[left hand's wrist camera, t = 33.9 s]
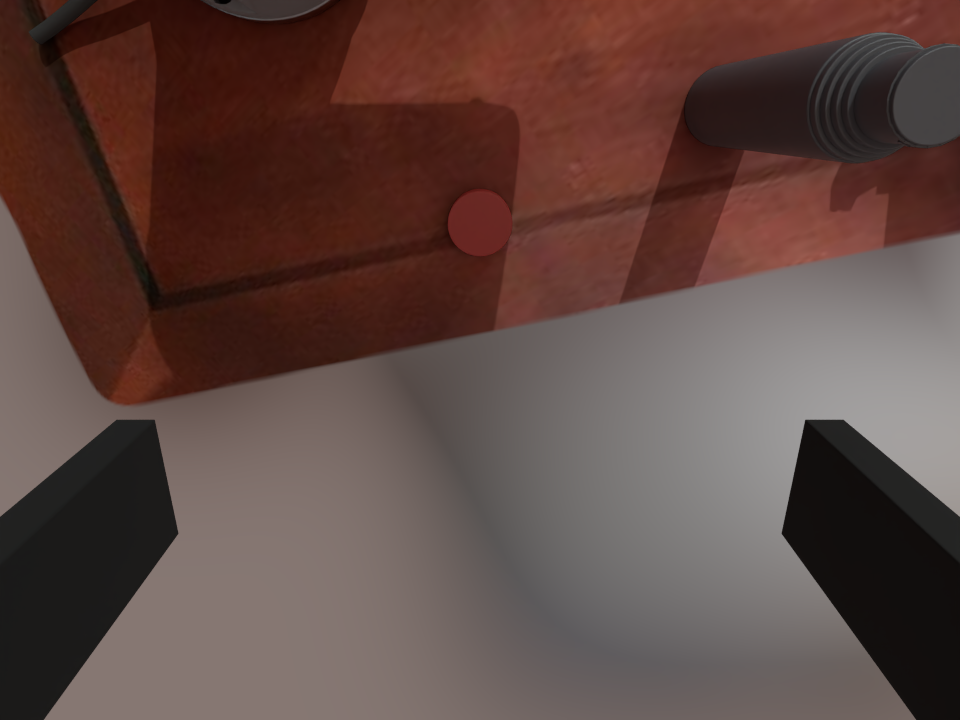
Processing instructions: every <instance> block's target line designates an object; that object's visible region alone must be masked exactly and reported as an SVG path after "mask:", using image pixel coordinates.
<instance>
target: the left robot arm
mask: <svg viewBox="0 0 960 720" xmlns="http://www.w3.org/2000/svg"><path fill="white" fill-rule="evenodd" d="M96 1H97V0H69V1H68V2H66V3H65V4H64V5H63V6H62V7H61V8H59V9H58V10H57V11H56V12H55V13H53V14H52V15H51V16H50V17H48V18H47V19H46V20H45V21H43V22H42V23H40V24H39V25H38V26H36V27H35V28H33V29H32V30H30V31H29V33H30V35H31V37H32V38H33V39H34V40H35V41H36V42H37V43H39V44H41V45H42V44H43V43H45V42H46V41H48V40H49V39H50V38H52V37H53V36H55V35H56V34H57V33H59V32H60V31H61V30H63V29H64V28H65V27H66V26H68V25H69V24H70V23H71V22H73V21H74V20H75V19H76V18H77V17H79V16H80V15H81V14H82V13H83V12H84V11H86V10H87V9H88V8H89V7H90V6H91V5H92V4H94V3H95V2H96ZM201 1H203V2H205V3H207V4H208V5H210V6H212V7H214V8H216V9H219V10H221V11H223V12H225V13H228V14H230V15H233V16H235V17H238V18H241V19H244V20H248V21H253V22H258V23H266V24H284V23H292V22H297V21H301V20H305V19H307V18H310V17H313V16H315V15H317V14H320V13H322V12H324V11H325V10H327V9H328V8H330V7H332V6H333V5H334V4H336V3H337V2H338V1H340V0H201ZM177 535H178V530H177V525H176V520H175V515H174V510H173V506H172V501H171V496H170V491H169V486H168V482H167V477H166V472H165V467H164V463H163V458H162V453H161V448H160V443H159V438H158V434H157V429H156V424H155V420H116V421H115V422H113V423H112V424H111V425H110V426H109V427H108V428H106V429H105V430H104V431H103V432H102V433H100V434H99V435H98V436H97V437H95V438H94V439H93V440H92V441H91V442H89V443H88V444H87V445H86V446H85V447H83V448H82V449H81V450H80V451H79V452H78V453H76V454H75V455H74V456H73V457H71V458H70V459H69V460H68V461H67V462H66V463H64V464H63V465H62V466H61V467H60V468H58V469H57V470H56V471H55V472H53V473H52V474H51V475H50V476H49V477H48V478H46V479H45V480H44V481H43V482H41V483H40V484H39V485H38V486H37V487H36V488H34V489H33V490H32V491H31V492H30V493H28V494H27V495H26V496H25V497H24V498H22V499H21V500H20V501H19V502H18V503H16V504H15V505H14V506H13V507H12V508H10V509H9V510H8V511H7V512H6V513H4V514H3V515H2V516H1V517H0V720H44V719H45V717H46V716H47V714H48V713H49V712H50V710H51V709H52V707H53V706H54V705H55V703H56V702H57V701H58V699H59V698H60V696H61V695H62V694H63V692H64V691H65V690H66V688H67V687H68V685H69V684H70V683H71V681H72V680H73V679H74V677H75V676H76V674H77V673H78V672H79V670H80V669H81V667H82V666H83V665H84V663H85V662H86V661H87V659H88V658H89V656H90V655H91V654H92V652H93V651H94V649H95V648H96V647H97V645H98V644H99V643H100V641H101V640H102V638H103V637H104V636H105V634H106V633H107V632H108V630H109V629H110V627H111V626H112V625H113V623H114V622H115V620H116V619H117V618H118V616H119V615H120V614H121V612H122V611H123V609H124V608H125V607H126V605H127V604H128V603H129V601H130V600H131V598H132V597H133V596H134V594H135V593H136V591H137V590H138V589H139V587H140V586H141V585H142V583H143V582H144V580H145V579H146V578H147V576H148V575H149V574H150V572H151V571H152V569H153V568H154V567H155V565H156V564H157V562H158V561H159V560H160V558H161V557H162V555H163V554H164V553H165V551H166V550H167V549H168V547H169V546H170V544H171V543H172V542H173V540H174V539H175V538H176V536H177ZM782 535H783V536H784V538H785V539H786V540H787V542H788V543H789V544H790V546H791V547H792V549H793V550H794V551H795V553H796V554H797V556H798V557H799V558H800V560H801V561H802V562H803V564H804V565H805V567H806V568H807V569H808V571H809V572H810V574H811V575H812V576H813V578H814V579H815V580H816V582H817V583H818V585H819V586H820V587H821V589H822V590H823V591H824V593H825V594H826V596H827V597H828V598H829V600H830V601H831V603H832V604H833V605H834V607H835V608H836V609H837V611H838V612H839V614H840V615H841V616H842V618H843V619H844V620H845V622H846V623H847V625H848V626H849V627H850V629H851V630H852V631H853V633H854V634H855V636H856V637H857V638H858V640H859V641H860V643H861V644H862V645H863V647H864V648H865V650H866V651H867V652H868V654H869V655H870V656H871V658H872V659H873V661H874V662H875V663H876V665H877V666H878V667H879V669H880V670H881V672H882V673H883V674H884V676H885V677H886V679H887V680H888V681H889V683H890V684H891V685H892V687H893V688H894V690H895V691H896V692H897V694H898V695H899V696H900V698H901V699H902V701H903V702H904V703H905V705H906V706H907V708H908V709H909V710H910V712H911V713H912V714H913V716H914V717H915V719H916V720H960V517H959V516H958V515H957V514H956V513H954V512H953V511H952V510H951V509H950V508H948V507H947V506H946V505H945V504H944V503H942V502H941V501H940V500H939V499H938V498H936V497H935V496H934V495H933V494H932V493H930V492H929V491H928V490H927V489H926V488H924V487H923V486H922V485H921V484H920V483H919V482H917V481H916V480H915V479H914V478H912V477H911V476H910V475H909V474H908V473H906V472H905V471H904V470H903V469H902V468H901V467H899V466H898V465H897V464H896V463H895V462H893V461H892V460H891V459H890V458H888V457H887V456H886V455H885V454H884V453H882V452H881V451H880V450H879V449H878V448H877V447H875V446H874V445H873V444H872V443H871V442H869V441H868V440H867V439H866V438H865V437H863V436H862V435H861V434H860V433H859V432H857V431H856V430H855V429H854V428H853V427H851V426H850V425H849V424H848V423H846V422H845V421H844V420H805V424H804V429H803V434H802V439H801V443H800V448H799V453H798V458H797V462H796V467H795V472H794V477H793V482H792V486H791V491H790V496H789V501H788V506H787V511H786V515H785V520H784V525H783V529H782Z"/></svg>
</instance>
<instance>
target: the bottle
mask: <svg viewBox="0 0 960 720" xmlns="http://www.w3.org/2000/svg"><path fill="white" fill-rule="evenodd" d="M685 119H686V123H687V126H688V128H689V130H690V132H691V133H692V134H693V136H694V137H695V138H696V139H698V140H699V141H700V142H702V143H704V144H707V145H710V146H717V147H725V148H733V149H741V150H749V151H757V152H765V153H773V154H781V155H789V156H797V157H805V158H813V159H821V160H829V161H837V162H845V163H864V162H868V161H873V160H877V159H881V158H883V157H886V156H888V155H890V154H892V153H894V152H896V151H897V150H899V149H900V148H902V147H903V146H907V147H917V148H931V147H937V146H941V145H944V144H946V143H948V142H950V141H952V140H954V139H956V138H957V137H958V136H960V46H958V45H955V44H940V45H934V46H930V47H928V48H926V49H924V48H923V47H922V46H920V45H919V44H918V43H917V42H915V41H914V40H912V39H910V38H908V37H905V36H902V35H898V34H892V33H882V32H878V33H870V34H865V35H861V36H856V37H851V38H846V39H842V40H837V41H832V42H828V43H823V44H818V45H814V46H809V47H804V48H800V49H795V50H790V51H786V52H781V53H776V54H772V55H767V56H762V57H758V58H753V59H748V60H744V61H739V62H734V63H730V64H725V65H720V66H717V67H714V68H712V69H710V70H708V71H706V72H705V73H704V74H702V75H701V76H700V77H699V78H698V79H697V80H696V81H695V83H694V84H693V86H692V87H691V89H690V91H689V93H688V96H687V98H686V103H685Z"/></svg>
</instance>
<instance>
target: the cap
mask: <svg viewBox="0 0 960 720" xmlns="http://www.w3.org/2000/svg"><path fill="white" fill-rule="evenodd" d="M448 231H449V235H450V237H451V239H452V241H453V242H454V244H455V245H456V246H457V247H458V248H459V249H460V250H462V251H463V252H465V253H467V254H469V255H473V256H487V255H491V254H493V253H495V252H497V251H498V250H500V249H501V248H502V247H503V246H504V245H505V244H506V242H507V241H508V239H509V237H510V234H511V231H512V217H511V213H510V210H509V207H508V205H507V203H506V202H505V201H504V199H503V198H502V197H501V196H499V195H498V194H497V193H495V192H493V191H491V190H487V189H473V190H469V191H467V192H465V193H463V194H462V195H461V196H459V197H458V198H457V199H456V201H455V202H454V203H453V205H452V207H451V210H450V213H449V216H448Z"/></svg>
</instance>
